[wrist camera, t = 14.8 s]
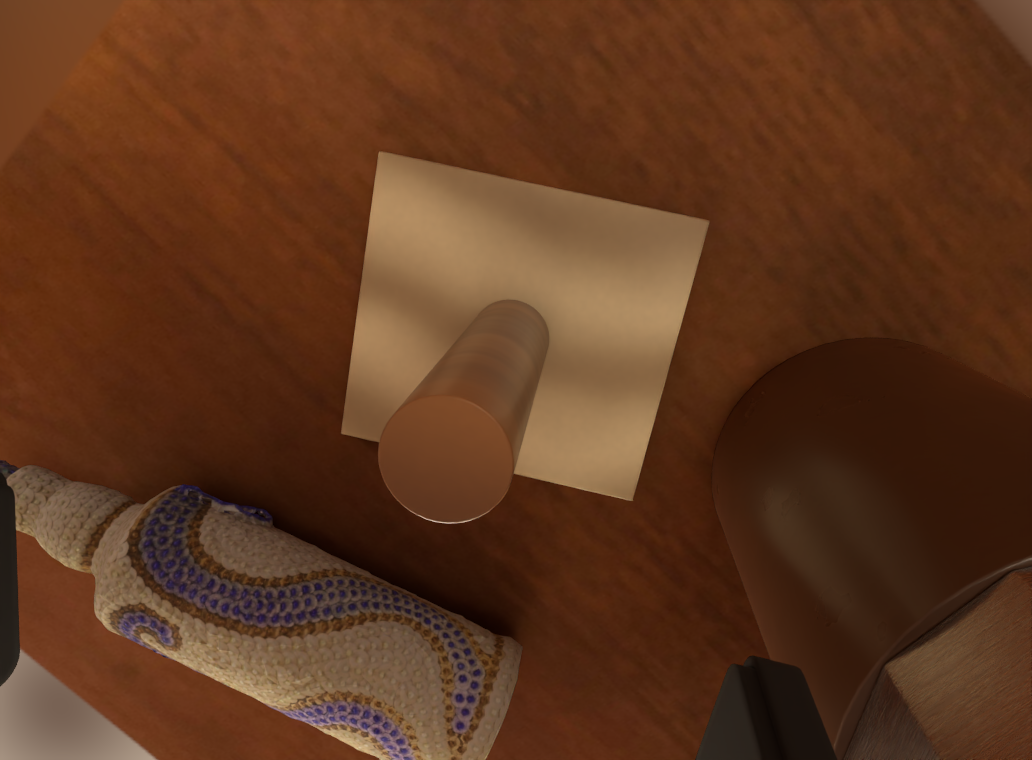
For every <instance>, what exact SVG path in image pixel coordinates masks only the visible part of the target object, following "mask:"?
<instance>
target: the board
mask: <svg viewBox="0 0 1032 760" xmlns="http://www.w3.org/2000/svg"><path fill="white" fill-rule="evenodd" d="M708 226H709V220H706V219H702V218H698V217H693V216H688V215H683V214H679V213H674V212H669V211H664V210H660V209H655V208H650V207H645V206H641V205H636V204H631V203H626V202H622V201H617V200H612V199H607V198H603V197H598V196H593V195H588V194H584V193H579V192H574V191H569V190H565V189H560V188H555V187H551V186H546V185H541V184H536V183H532V182H527V181H522V180H517V179H513V178H508V177H503V176H498V175H494V174H489V173H484V172H479V171H475V170H470V169H465V168H460V167H456V166H451V165H446V164H441V163H437V162H432V161H427V160H422V159H418V158H413V157H408V156H403V155H399V154H394V153H389V152H382V151H379V153H378V161H377V168H376V175H375V183H374V190H373V198H372V205H371V213H370V220H369V228H368V235H367V242H366V250H365V257H364V265H363V272H362V280H361V287H360V295H359V302H358V309H357V317H356V324H355V332H354V339H353V347H352V354H351V362H350V369H349V377H348V384H347V391H346V399H345V406H344V414H343V421H342V429H341V434H344V435H349V436H353V437H357V438H362V439H366V440H370V441H375V442H379V441H380V437H381V434H382V432H383V429H384V427H385V425H386V424H387V422H388V421H389V419H390V418H391V417H392V415H393V414H394V413H395V412H396V411H397V410H398V408H399V407H400V406H401V405H402V404H403V402H404V401H405V400H406V399H407V398H408V397H409V395H410V394H411V393H412V392H413V391H414V390H415V388H416V387H417V386H418V385H419V384H420V383H421V381H422V380H423V379H424V378H425V377H426V376H427V374H428V373H429V372H430V371H431V370H432V369H433V367H434V366H435V365H436V364H437V363H438V362H439V360H440V359H441V358H442V357H443V356H444V354H445V353H446V352H447V351H448V350H449V349H450V347H451V346H452V345H453V344H454V343H455V342H456V340H457V339H458V338H459V337H460V336H461V335H462V333H463V332H464V331H465V330H466V329H467V328H468V326H469V325H470V324H471V323H472V322H473V321H474V319H475V318H476V317H477V316H478V315H479V313H480V312H481V311H482V310H483V309H484V308H486V307H487V306H488V305H490V304H492V303H494V302H497V301H501V300H518V301H522V302H524V303H527V304H529V305H530V306H532V307H533V308H535V309H536V310H537V311H538V312H539V313H540V314H541V316H542V317H543V319H544V320H545V322H546V325H547V327H548V331H549V346H548V350H547V354H546V358H545V361H544V365H543V369H542V372H541V376H540V380H539V383H538V387H537V391H536V394H535V398H534V401H533V405H532V409H531V412H530V416H529V420H528V423H527V427H526V431H525V434H524V438H523V442H522V445H521V449H520V453H519V456H518V460H517V464H516V467H515V471H514V474H517V475H522V476H526V477H530V478H535V479H539V480H543V481H548V482H552V483H556V484H561V485H565V486H569V487H574V488H578V489H582V490H587V491H591V492H595V493H600V494H604V495H608V496H613V497H617V498H621V499H626V500H630V501H632V500H633V497H634V493H635V490H636V486H637V482H638V479H639V475H640V472H641V468H642V464H643V461H644V457H645V453H646V450H647V446H648V443H649V439H650V435H651V432H652V428H653V425H654V421H655V417H656V414H657V410H658V407H659V403H660V399H661V396H662V392H663V388H664V385H665V381H666V378H667V374H668V370H669V367H670V363H671V360H672V356H673V352H674V349H675V345H676V342H677V338H678V334H679V331H680V327H681V323H682V320H683V316H684V313H685V309H686V305H687V302H688V298H689V295H690V291H691V287H692V284H693V280H694V277H695V273H696V269H697V266H698V262H699V259H700V255H701V251H702V248H703V244H704V240H705V237H706V233H707V230H708Z"/></svg>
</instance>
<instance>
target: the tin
mask: <svg viewBox="0 0 1032 760" xmlns="http://www.w3.org/2000/svg"><path fill="white" fill-rule="evenodd" d="M711 480H712V495H713V499H714V504H715V509H716V512H717V515H718V518H719V520H720V523H721V526H722V528H723V531H724V534H725V537H726V539H727V542H728V545H729V548H730V550H731V553H732V556H733V558H734V561H735V564H736V567H737V569H738V572H739V575H740V578H741V580H742V583H743V586H744V588H745V591H746V594H747V597H748V599H749V602H750V605H751V608H752V610H753V613H754V616H755V618H756V621H757V624H758V627H759V629H760V632H761V635H762V638H763V640H764V643H765V646H766V649H767V651H768V654H769V657H770V659H771V660H773V661H777V662H781V663H785V664H789V665H793V666H797V667H798V668H800V669H801V671H802V672H803V674H804V676H805V679H806V681H807V684H808V686H809V689H810V691H811V694H812V696H813V699H814V702H815V704H816V707H817V709H818V712H819V714H820V717H821V719H822V722H823V724H824V727H825V729H826V732H827V734H828V737H829V740H830V742H831V745H832V747H833V750H834V752H835V755H836V757H837V760H1032V398H1030V397H1028V396H1026V395H1024V394H1022V393H1020V392H1018V391H1016V390H1014V389H1012V388H1010V387H1008V386H1006V385H1004V384H1002V383H1000V382H998V381H996V380H994V379H992V378H990V377H988V376H986V375H984V374H982V373H980V372H978V371H976V370H974V369H972V368H970V367H968V366H966V365H964V364H962V363H960V362H958V361H956V360H954V359H952V358H950V357H948V356H946V355H944V354H942V353H939V352H937V351H935V350H933V349H930V348H928V347H926V346H922V345H919V344H915V343H911V342H908V341H902V340H896V339H889V338H858V339H847V340H842V341H837V342H833V343H828V344H824V345H821V346H819V347H816V348H813V349H810V350H807V351H805V352H803V353H801V354H798V355H796V356H794V357H792V358H790V359H788V360H787V361H785V362H783V363H782V364H780V365H779V366H777V367H776V368H774V369H772V370H771V371H770V372H768V373H767V374H766V375H765V376H764V377H762V378H761V379H760V380H759V381H758V382H756V383H755V384H754V385H753V386H752V388H751V389H750V390H749V391H748V392H747V393H746V394H745V395H744V396H743V397H742V398H741V400H740V401H739V403H738V404H737V405H736V407H735V408H734V409H733V411H732V412H731V414H730V416H729V418H728V419H727V421H726V423H725V425H724V427H723V429H722V432H721V434H720V437H719V439H718V442H717V445H716V449H715V453H714V458H713V464H712V476H711Z"/></svg>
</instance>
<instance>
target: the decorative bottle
mask: <svg viewBox="0 0 1032 760" xmlns="http://www.w3.org/2000/svg"><path fill="white" fill-rule="evenodd" d="M0 472H1V473H3V475H4V476H5V478H6V480H7V485H8V486H10V487H11V488H12V489H13V491H14V495H15V516H16V530H18V531H21V532H24V533H26V534H29V535H31V536H33V537H35V538H36V539H37V541H38V542H39V544H40V545H41V547H42V548H43V549H44V550H45V551H46V552H47V553H48V554H50V555H51V556H52V557H53V558H55V559H56V560H58V561H60V562H61V563H62V564H64V565H65V566H67V567H70V568H73V569H75V570H78V571H82V572H86V573H91V574H94V576H95V578H96V579H95V584H96V589H95V595H94V609H95V614H96V617H97V618H98V619H99V620H100V621H101V622H102V623H103V625H104V626H105V627H106V629H108V630H110V631H112V632H114V633H116V634H119V635H121V636H123V637H126V638H128V639H130V640H132V641H134V642H136V643H138V644H140V645H142V646H144V647H146V648H149V649H151V650H153V651H154V652H156V653H158V654H161V655H162V656H163V657H166V658H170V659H173V660H176V661H178V662H180V663H182V664H184V665H186V666H188V667H189V668H191V669H193V670H195V671H197V672H199V673H202V674H204V675H207V676H209V677H211V678H213V679H215V680H217V681H219V682H221V683H223V684H225V685H227V686H228V687H231V688H234V689H236V690H238V691H240V692H243V693H245V694H247V695H249V696H251V697H253V698H255V699H257V700H259V701H260V702H262V703H264V704H265V705H267V706H269V707H270V708H272V709H275V710H278V711H280V712H282V713H283V714H285V715H287V716H289V717H290V718H293V719H297V720H301V721H303V722H306V723H308V724H310V725H312V726H314V727H316V728H318V729H319V730H321V731H323V732H324V733H326V734H330V735H331V736H333V737H336V738H338V739H339V740H341V741H343V742H345V743H347V744H349V745H351V746H353V747H355V748H356V749H357V750H360V751H362V752H365V753H368V754H371V755H374V756H376V757H378V758H380V759H381V760H486V758H487V756H488V754H489V752H490V749H491V747H492V745H493V743H494V741H495V739H496V736H497V734H498V732H499V730H500V728H501V725H502V723H503V720H504V718H505V715H506V712H507V709H508V707H509V703H510V700H511V697H512V694H513V691H514V688H515V685H516V682H517V677H518V671H519V664H520V659H521V653H522V648H523V647H522V645H520V644H519V643H518V642H516V641H515V640H514V639H513V638H511V637H507V636H501V635H497V634H493V633H491V632H490V631H489V630H487V629H484V628H482V627H481V626H479V625H477V624H475V623H473V622H472V621H469V620H467V619H465V618H464V617H463V616H461V615H458V614H454V613H452V612H450V611H447V610H445V609H443V608H441V607H439V606H437V605H435V604H433V603H431V602H429V601H427V600H425V599H422V598H419V597H418V596H417V595H415V594H413V593H411V592H408V591H407V590H405V589H402V588H400V587H398V586H395V585H392V584H390V583H388V582H386V581H384V580H382V579H380V578H378V577H376V576H374V575H371V574H370V573H369V572H368V571H365V570H363V569H360V568H358V567H356V566H354V565H352V564H350V563H348V562H346V561H344V560H342V559H340V558H338V557H335V556H333V555H330V554H328V553H326V552H325V551H323V550H321V549H319V548H318V547H317V546H315V545H312V544H309V543H306V542H304V541H302V540H300V539H298V538H296V537H295V536H293V535H290V534H288V533H286V532H284V531H282V530H280V529H277V528H275V527H274V526H273V517H272V516H271V515H270V514H269V513H268V512H267V511H266V510H264V509H260V508H256V507H251V506H238V505H237V504H234V503H228V502H224V501H221V500H219V499H218V498H216V497H213V496H211V495H209V494H206V493H204V492H203V491H202V490H201V489H200V488H199V487H197V486H192V485H184V484H183V485H181V486H174V487H171V488H169V489H167V490H165V491H163V492H162V493H160V494H158V495H157V496H156V497H154V498H152V499H151V500H149V501H148V502H147V503H146V504H138V503H137V502H135V501H134V500H133V498H132V497H130V496H127V495H124V494H122V493H121V492H120V491H117V490H113V489H110V488H107V487H105V486H101V485H95V484H89V483H83V482H77V481H76V482H73V481H71V480H68V479H66V478H64V477H63V476H61V475H59V474H57V473H55V472H53V471H51V470H49V469H46V468H43V467H40V466H35V465H29V466H25V467H22V468H20V469H19V468H17V467H16V466H14V465H10V464H9V463H7V462H6V461H3V460H0ZM257 511H258V513H259V515H262V516H265V518H263V517H261V516H259V515H257V514H254V513H255V512H257Z"/></svg>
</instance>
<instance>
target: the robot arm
mask: <svg viewBox="0 0 1032 760" xmlns="http://www.w3.org/2000/svg"><path fill="white" fill-rule="evenodd" d="M19 653H20V643H19V611H18V580H17V548H16V516H15V495H14V491H13V489H12V488H11V487H10V486H8V485H7V480H6V478H5V476H4V475H3V473H1V472H0V686H1V685H2V684H3V683H4V682H5V681H6V680H7V679H8V678H9V677H10V675H11V674H12V672H13V671H14V669H15V667H16V665H17V662H18V659H19ZM695 760H837V757H836V755H835V752H834V750H833V747H832V745H831V742H830V740H829V737H828V734H827V732H826V729H825V727H824V724H823V722H822V719H821V717H820V714H819V712H818V709H817V707H816V704H815V702H814V699H813V696H812V694H811V691H810V689H809V686H808V684H807V681H806V679H805V676H804V674H803V672H802V671H801V669H800V668H798V667H797V666H793V665H789V664H785V663H781V662H777V661H773V660H769V659H765V658H761V657H757V656H749V657H748V658H747V660H746V661H745V663H744V665H743V666H741V665H737V664H731V666H730V667H729V668H728V670H727V673H726V675H725V678H724V681H723V683H722V686H721V689H720V692H719V695H718V697H717V700H716V703H715V706H714V709H713V711H712V714H711V717H710V720H709V722H708V725H707V728H706V731H705V734H704V736H703V739H702V742H701V745H700V748H699V750H698V753H697V756H696V759H695Z"/></svg>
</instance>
